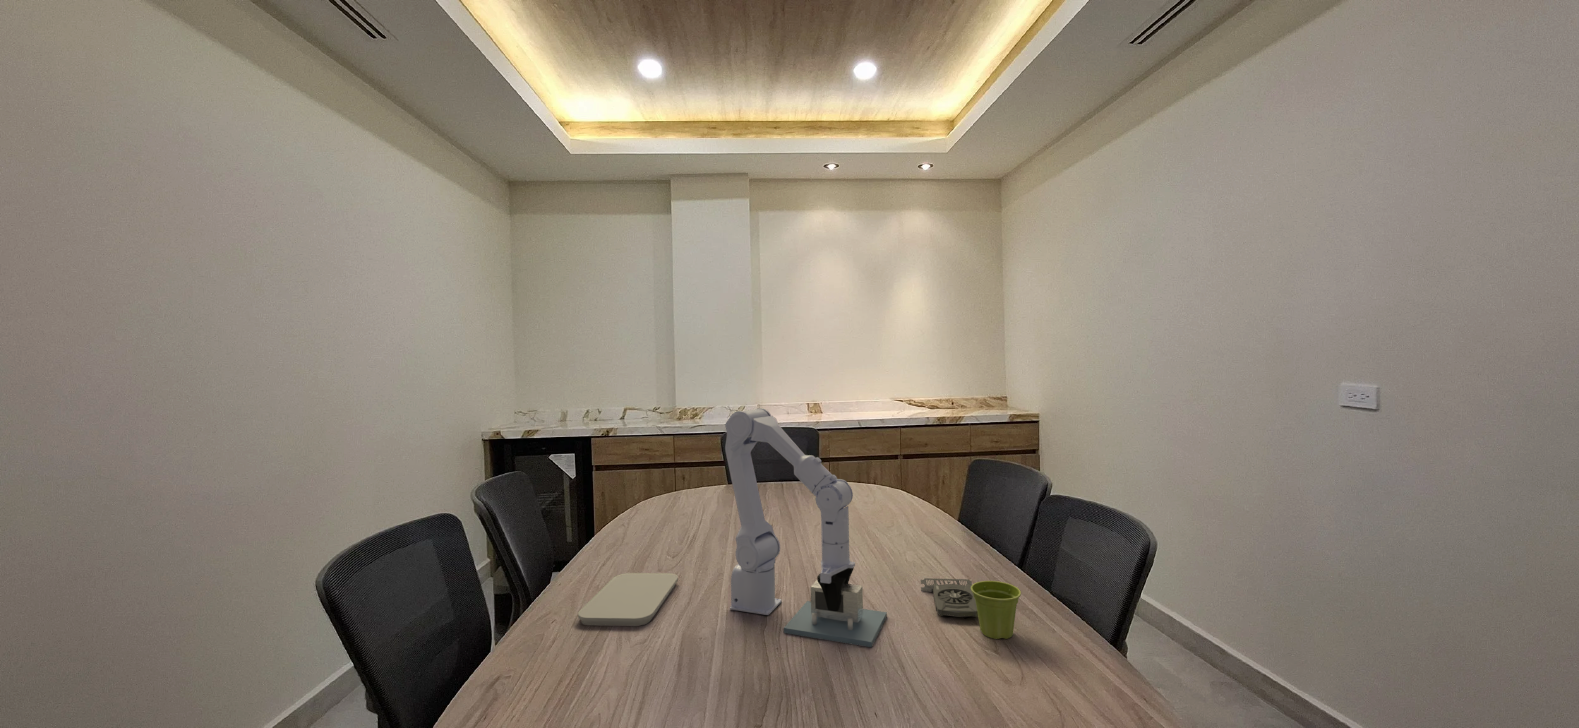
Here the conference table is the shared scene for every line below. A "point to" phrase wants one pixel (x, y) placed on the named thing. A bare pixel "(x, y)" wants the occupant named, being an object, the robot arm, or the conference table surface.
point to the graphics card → (952, 597)
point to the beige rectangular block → (848, 603)
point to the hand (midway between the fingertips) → (836, 605)
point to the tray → (837, 626)
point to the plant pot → (996, 607)
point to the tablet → (628, 599)
